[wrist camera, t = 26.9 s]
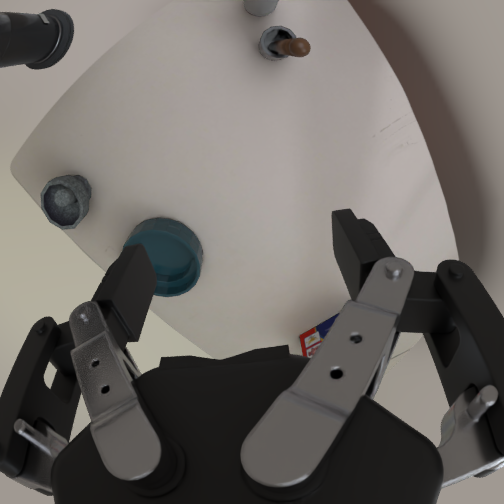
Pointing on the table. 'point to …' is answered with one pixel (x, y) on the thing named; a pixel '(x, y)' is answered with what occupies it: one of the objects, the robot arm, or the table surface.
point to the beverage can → (260, 6)
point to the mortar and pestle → (66, 200)
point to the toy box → (315, 337)
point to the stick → (290, 47)
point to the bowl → (170, 254)
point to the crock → (274, 35)
